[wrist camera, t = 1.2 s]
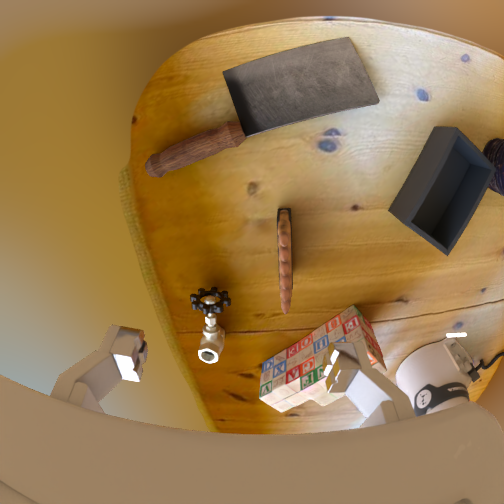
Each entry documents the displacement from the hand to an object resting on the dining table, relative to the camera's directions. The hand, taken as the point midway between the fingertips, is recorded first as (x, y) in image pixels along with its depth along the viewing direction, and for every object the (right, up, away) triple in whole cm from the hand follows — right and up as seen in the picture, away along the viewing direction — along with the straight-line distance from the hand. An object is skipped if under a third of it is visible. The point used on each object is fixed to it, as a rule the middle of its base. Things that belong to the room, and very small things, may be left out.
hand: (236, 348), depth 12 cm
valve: (-6, -7, +38) cm, 40 cm away
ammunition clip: (+6, +6, +32) cm, 33 cm away
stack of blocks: (+13, -13, +39) cm, 43 cm away
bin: (+29, +14, +25) cm, 41 cm away
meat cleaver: (0, +25, +24) cm, 34 cm away
